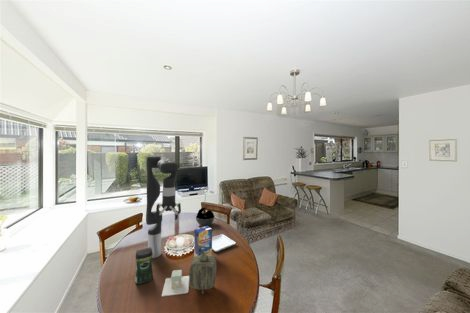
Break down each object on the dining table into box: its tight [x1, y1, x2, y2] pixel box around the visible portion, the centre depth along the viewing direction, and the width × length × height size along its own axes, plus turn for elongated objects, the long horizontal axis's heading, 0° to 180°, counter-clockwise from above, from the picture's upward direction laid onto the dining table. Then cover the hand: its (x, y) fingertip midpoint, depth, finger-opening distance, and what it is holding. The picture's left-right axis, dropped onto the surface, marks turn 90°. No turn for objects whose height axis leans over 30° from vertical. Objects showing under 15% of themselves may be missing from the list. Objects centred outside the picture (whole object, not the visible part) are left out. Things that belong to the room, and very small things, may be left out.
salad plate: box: [212, 233, 236, 253], centre depth 153 cm, size 21×21×3 cm
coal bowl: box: [195, 207, 216, 227], centre depth 194 cm, size 20×20×19 cm
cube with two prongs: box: [170, 269, 183, 289], centre depth 105 cm, size 5×5×7 cm
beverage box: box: [193, 225, 213, 258], centre depth 132 cm, size 7×11×22 cm, turn 129°
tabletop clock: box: [188, 247, 218, 295], centre depth 101 cm, size 14×9×25 cm, turn 92°
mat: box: [161, 275, 190, 298], centre depth 105 cm, size 14×14×1 cm
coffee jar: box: [134, 247, 154, 285], centre depth 110 cm, size 10×8×19 cm
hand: (168, 220), depth 111 cm, fingers open, 8 cm apart
